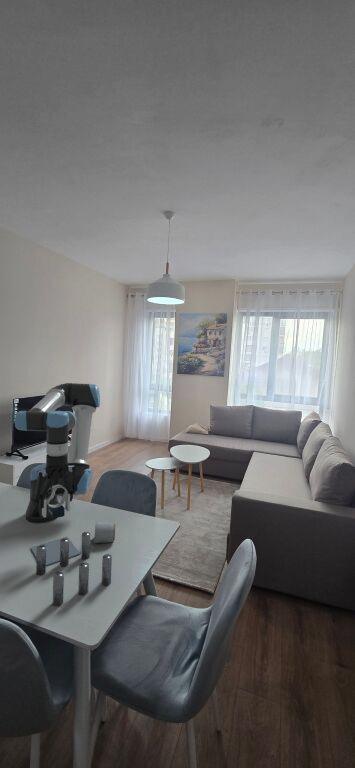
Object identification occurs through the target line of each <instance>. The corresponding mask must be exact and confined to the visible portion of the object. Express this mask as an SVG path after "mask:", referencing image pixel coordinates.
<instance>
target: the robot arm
mask: <svg viewBox="0 0 355 768" xmlns="http://www.w3.org/2000/svg"><path fill="white" fill-rule="evenodd" d="M99 388H100V387H99V386H98V385H97V384H95V383H94V384H92V383H77V382H76V383H74V382H73V383H72V382H67V383H61V384H59V385H56V386H54V387H52V388H50V389H49V390H48V391H46V393H45V396H44V397H43V398H42V399H41V400H39V401H38V402H37V403H36V404H34V406H33V407H32V408H31V409H29V410H20V411H18V412H17V413H16V414H15V418H14V427H15V428H16V429H17V430H19V431H25V432H27V431H29V432H32V431H33V432H46V447H45V448H46V449H45V451H46V455H45V456H46V457H45V459H46V460H45V463H43V464H39V465H37V466H34V467H33V468H32V469H31V471H30V474H29V475H30V477H29V502H28V505H27V507H26V510H25V520H26V521H27V522H30V523H34V524H43V523H44V524H45V523H49V522H52V521H55V520H56V519H58V518H55V519H52V518H51V516H50V515H49V514H48V504H47V500H46V499H45V496H46V494H47V492H48V489H49V488H50V487H52V486H55V485H62V486H63V487H64V488H65V489H66V490H67V492H68V496H67V499H66V501H65V503H64V504H65V507H64V508H65V510H66V512H70V510H71V502H72V501H73V496H74V495H75V496H78V495H79V496H80V495H82V496H83V495H86V494H87V493H88V491H89V489H90V486H91V483H92V479H93V469H92V468H91V466H90V463H89V462H88V457H89V455H88V453H89V445H90V438H91V437H90V436H91V430H92V429H91V427H92V419H93V414H94V413H95V412H96V411H97V408H100V405H101V396H100V395H101V394H100V389H99ZM63 406H64V407H71V409H72V411H73V412H72V411H70V410H65V411H64V410H57V409H58V408H60V407H63ZM70 431H71V436H70V445H69V432H70ZM64 488H56V489H57V490H56V491H55V495H54V497H53V498H52V500H50V502H49V504H50V505H51V504H55V503H60V502H59V501H60V500H59V498H58V495H64V492H65V490H64Z"/></svg>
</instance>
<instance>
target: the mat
mask: <svg viewBox="0 0 355 768" xmlns="http://www.w3.org/2000/svg"><path fill="white" fill-rule="evenodd" d="M64 538H68V539H69V537H68V536H64V537H61V538H58V539H54V540H51V541H48V542H44V543H41V544H37V545H34V546H32V547H30V550H31V552H32V553H33V555H34V556H35V558H36V556H37V547H38V546H40V545H45V546H46V567H49V566H52V565H54V564H57V563H60V540H61V539H64ZM77 556H81V553H80V551H79V550H78V548H76V546H75V545H74V544H73V542H72V541H71V540H70V539H69V559H72V558H75V557H77Z"/></svg>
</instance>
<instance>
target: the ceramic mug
mask: <svg viewBox="0 0 355 768" xmlns="http://www.w3.org/2000/svg"><path fill="white" fill-rule="evenodd" d="M94 527H95V528H94V538H93V539H94V544H99V543H100V544H101V543H104V544H105V543H112V542H115V539H116V523H114V522H103V521H101V522H100V521H98V522H97V521H96V522H95V526H94Z"/></svg>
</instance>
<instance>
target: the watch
mask: <svg viewBox="0 0 355 768" xmlns="http://www.w3.org/2000/svg"><path fill="white" fill-rule="evenodd" d="M56 488H64V487H63V486H62V485H55V486H52V487H50V488H49V489H48V492H47V494H46V496H45V499H46V500H47V504H48V514H49V515H50V516H51V518H52V519H55V518H57V519H58V518H63V517H65V513H66V511H65V510H66V509H65V507H64V506H63V505H64V504H65V501H66V499H67V496H68V492H67V490H66V489H65V488H64V490H65V492H64V494H62V498H61V499H60V502H59V503H55V504H51V505H50V504H49V502H50V500H52V498H53V497H54V495H55V491H56V490H57V489H56ZM55 520H56V519H55Z"/></svg>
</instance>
